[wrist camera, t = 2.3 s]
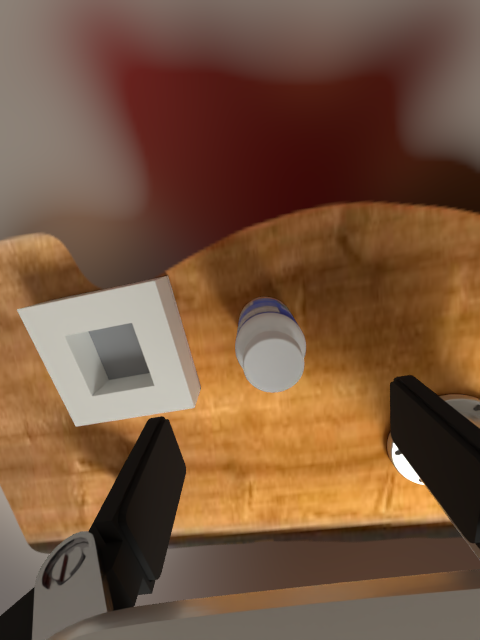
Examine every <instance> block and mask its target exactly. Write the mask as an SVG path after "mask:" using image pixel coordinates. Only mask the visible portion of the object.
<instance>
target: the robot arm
mask: <svg viewBox="0 0 480 640" xmlns="http://www.w3.org/2000/svg"><path fill="white" fill-rule="evenodd" d="M390 423H391V432H390V434H389V437H388V441H387V451H388V455H389V458H390V460H391V462H392V463H393V465H394V466H395V468H396V469H397V470H398V472H399V473H400V474H402V475H403V476H404V477H405V478H407V479H409V480H411V481H413V482H415V483H418V484H423V485H425V486H426V488H427V489H428V491H429V492H430V493H431V495H432V496H433V497H434V499H435V500H436V501H437V503H438V504H439V505H440V507H441V508H442V509H443V511H444V512H445V514H446V515H447V516H448V518H449V519H450V520H451V522H452V523H453V524H454V526H455V527H456V528H457V530H458V531H459V532H460V534H461V535H462V537H463V538H464V539H465V541H466V542H467V543H468V545H469V546H470V547H471V549H472V550H473V551H474V553H475V554H476V555H477V557H478V558H479V560H480V399H478V398H476V397H473V396H468V395H462V394H449V395H442V396H438V395H437V394H435V393H434V392H433V391H432V390H430V389H429V388H428V387H426V386H425V385H424V384H423V383H421V382H420V381H419V380H418V379H416V378H415V377H414V376H412V375H407V376H401V377H396V378H394V382H391V383H390ZM185 475H186V466H185V463H184V460H183V457H182V454H181V452H180V449H179V446H178V444H177V441H176V438H175V435H174V433H173V430H172V427H171V425H170V422H169V420H168V419H165V418H164V417H156V418H150V419H149V420H148V421H147V423H146V425H145V427H144V429H143V430H142V432H141V434H140V436H139V438H138V440H137V442H136V444H135V446H134V447H133V449H132V451H131V453H130V455H129V457H128V459H127V460H126V462H125V464H124V466H123V468H122V470H121V471H120V473H119V475H118V477H117V479H116V481H115V483H114V485H113V487H112V488H111V490H110V492H109V494H108V496H107V498H106V500H105V502H104V503H103V505H102V507H101V509H100V511H99V513H98V515H97V517H96V518H95V520H94V522H93V524H92V526H91V528H90V530H89V532H88V531H86V532H79V533H76V534H73V535H72V536H70V537H69V538H67V539H65V540H64V541H63V542H62V543H61V544H59V545H58V546H57V547H56V548H55V549H54V550H53V552H52V553H51V554H50V555H49V556H48V557H47V559H46V560H45V562H44V563H43V565H42V566H41V568H40V571H39V573H38V575H37V577H36V583H35V587H34V588H33V589H32V590H31V591H29V592H28V593H27V594H26V595H24V596H23V597H22V598H21V599H20V600H19V601H17V602H16V603H15V604H14V605H13V606H12V607H10V608H9V609H8V610H7V611H6V612H5V613H3V614H2V615H1V616H0V640H480V569H477V570H465V571H454V572H444V573H434V574H425V575H414V576H404V577H394V578H384V579H373V580H364V581H355V582H345V583H335V584H326V585H316V586H308V587H298V588H288V589H279V590H271V591H260V592H252V593H243V594H235V595H225V596H216V597H209V598H208V597H207V598H198V599H190V600H181V601H173V602H166V603H159V604H152V605H145V606H137V607H134V606H135V602H136V599H137V596H138V595H142V594H151V593H152V591H153V588H154V584H155V580H157V579H158V578H159V577H160V575H161V572H162V568H163V564H164V560H165V556H166V552H167V548H168V544H169V540H170V536H171V532H172V528H173V524H174V520H175V515H176V511H177V507H178V503H179V499H180V495H181V491H182V487H183V483H184V479H185Z"/></svg>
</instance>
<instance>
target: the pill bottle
mask: <svg viewBox="0 0 480 640" xmlns="http://www.w3.org/2000/svg"><path fill="white" fill-rule="evenodd" d="M235 351H236V356H237V359H238V362H239V364H240V365H241V367H242V368H243V370H244V373H245V376H246V378H247V380H248V381H249V382H250V383H251V384H252V385H253V386H254V387H256V388H257V389H259V390H262V391H265V392H281V391H284V390H287V389H289V388H290V387H292V386H293V385H295V384H296V383H297V382H298V380H299V379H300V378H301V376H302V373H303V370H304V357H305V353H306V341H305V337H304V335H303V332H302V331H301V329H300V327H299V326H298V324H297V322H296V321H295V319H294V317H293V316H292V314H291V313H290V311H289V309H288V308H287V307H286V306H285V305H284V304H283V303H282V302H281V301H279V300H277V299H275V298H271V297H259V298H256V299H254V300H252V301H250V302H249V303H248V304H246V306H245V307H244V308H243V310H242V312H241V314H240V317H239V324H238V331H237V337H236V344H235Z"/></svg>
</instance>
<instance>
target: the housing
mask: <svg viewBox="0 0 480 640" xmlns="http://www.w3.org/2000/svg"><path fill="white" fill-rule="evenodd" d="M17 311H18V313H19V315H20V317H21V319H22V321H23V323H24V325H25V327H26V329H27V331H28V333H29V335H30V337H31V339H32V341H33V343H34V345H35V347H36V349H37V351H38V353H39V355H40V356H41V358H42V360H43V362H44V364H45V366H46V368H47V370H48V372H49V374H50V376H51V378H52V380H53V382H54V384H55V386H56V388H57V390H58V392H59V394H60V396H61V398H62V400H63V402H64V404H65V406H66V408H67V410H68V412H69V414H70V416H71V418H72V420H73V422H74V424H75V426H76V427H77V426H83V425H89V424H96V423H102V422H108V421H115V420H121V419H127V418H134V417H140V416H146V415H152V414H159V413H165V412H171V411H178V410H184V409H190V408H195V405H196V402H197V399H198V396H199V393H200V389H201V386H200V383H199V379H198V376H197V372H196V369H195V366H194V362H193V359H192V355H191V352H190V349H189V345H188V342H187V338H186V335H185V332H184V328H183V325H182V321H181V318H180V315H179V311H178V308H177V305H176V301H175V298H174V294H173V291H172V288H171V284H170V281H169V277H168V276H163V277H158V278H154V279H149V280H144V281H140V282H135V283H130V284H126V285H121V286H116V287H111V288H106V289H102V290H97V291H92V292H88V293H83V294H78V295H73V296H69V297H64V298H59V299H55V300H50V301H46V302H42V303H39V304H35V305H32V306H28V307H25V308H21V309H17Z"/></svg>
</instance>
